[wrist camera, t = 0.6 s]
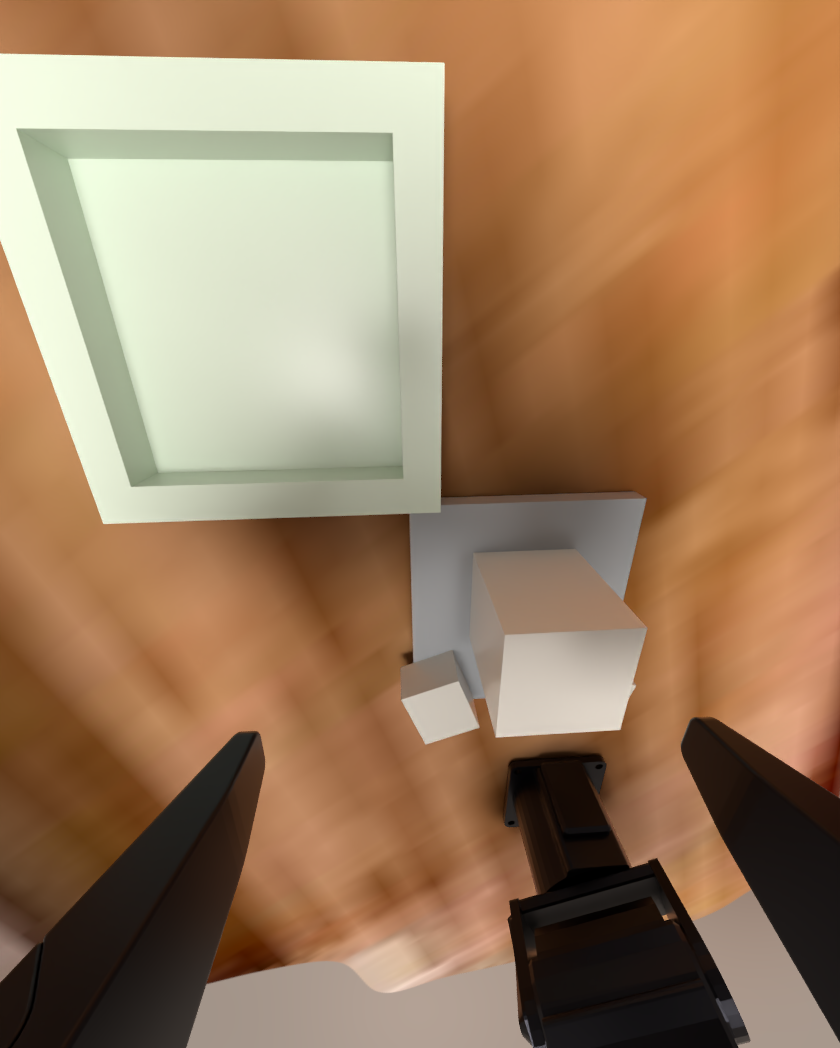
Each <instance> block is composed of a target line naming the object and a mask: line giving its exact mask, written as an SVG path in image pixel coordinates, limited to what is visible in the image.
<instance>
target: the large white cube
mask: <svg viewBox="0 0 840 1048" xmlns="http://www.w3.org/2000/svg"><path fill="white" fill-rule="evenodd" d="M646 631H647V627H646V626H645V625H644V624H643V623H642V621H641V620H640V619H639V618H638V617H637V616H636V615H635V614H634V613H633V612H632V610H631V609H630V608H629V607H628V606H627V605H626V604H625V603H624V602H623V601H622V600H621V598H620V597H619V596H618V595H617V594H616V593H615V592H614V591H613V590H612V589H611V587H610V586H609V585H608V584H607V583H606V582H605V581H604V580H603V579H602V578H601V576H600V575H599V574H598V573H597V572H596V571H595V570H594V569H593V568H592V567H591V565H590V564H589V563H588V562H587V561H586V560H585V559H584V558H583V557H582V556H581V554H580V553H579V552H578V551H577V550H576V549H559V550H533V551H507V552H482V553H473V570H472V591H471V613H470V635H469V637H470V641H471V644H472V648H473V652H474V656H475V660H476V664H477V668H478V671H479V675H480V679H481V683H482V687H483V691H484V694H485V698H486V702H487V706H488V710H489V714H490V718H491V721H492V725H493V729H494V733H495V737H512V736H528V735H544V734H561V733H577V732H593V731H610V730H620V728H621V725H622V721H623V717H624V713H625V710H626V706H627V702H628V698H629V695H630V691H631V687H632V683H633V680H634V676H635V672H636V668H637V665H638V661H639V657H640V654H641V650H642V646H643V642H644V639H645V635H646Z"/></svg>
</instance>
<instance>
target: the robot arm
mask: <svg viewBox="0 0 840 1048" xmlns="http://www.w3.org/2000/svg"><path fill="white" fill-rule="evenodd" d="M681 752H682V755H683V758H684V760H685V762H686V764H687V766H688V768H689V770H690V772H691V775H692V777H693V779H694V781H695V783H696V785H697V787H698V789H699V791H700V793H701V796H702V798H703V800H704V802H705V804H706V806H707V808H708V810H709V812H710V814H711V817H712V819H713V821H714V823H715V825H716V827H717V829H718V831H719V833H720V835H721V837H722V839H723V840H724V842H725V844H726V846H727V848H728V849H729V851H730V853H731V855H732V856H733V858H734V860H735V862H736V863H737V865H738V867H739V869H740V870H741V872H742V874H743V876H744V877H745V879H746V881H747V882H748V884H749V886H750V888H751V889H752V891H753V893H754V895H755V896H756V898H757V900H758V901H759V903H760V905H761V907H762V908H763V910H764V912H765V913H766V915H767V917H768V919H769V920H770V922H771V924H772V925H773V927H774V929H775V931H776V933H777V934H778V936H779V938H780V940H781V941H782V943H783V945H784V947H785V948H786V950H787V952H788V953H789V955H790V957H791V959H792V960H793V962H794V964H795V965H796V967H797V969H798V971H799V973H800V974H801V976H802V978H803V979H804V981H805V983H806V984H807V986H808V988H809V990H810V991H811V993H812V995H813V997H814V998H815V1000H816V1002H817V1004H818V1005H819V1007H820V1009H821V1011H822V1012H823V1014H824V1016H825V1018H826V1019H827V1021H828V1023H829V1024H830V1026H831V1028H832V1029H833V1031H834V1033H835V1035H836V1036H837V1038H838V1040H839V1042H840V798H838V797H837V796H835V795H834V794H832V793H831V792H829V791H827V790H826V789H824V788H823V787H821V786H820V785H818V784H817V783H815V782H813V781H812V780H810V779H809V778H807V777H806V776H804V775H803V774H801V773H799V772H798V771H796V770H795V769H793V768H792V767H790V766H789V765H787V764H786V763H784V762H782V761H781V760H779V759H778V758H776V757H775V756H773V755H772V754H770V753H768V752H767V751H765V750H764V749H762V748H761V747H759V746H758V745H756V744H754V743H753V742H751V741H750V740H748V739H747V738H745V737H744V736H742V735H740V734H739V733H737V732H736V731H734V730H733V729H731V728H730V727H728V726H726V725H725V724H723V723H722V722H720V721H719V720H717V719H715V718H712V717H694V718H692V719H691V720H690V722H689V724H688V726H687V729H686V732H685V734H684V737H683V739H682V742H681ZM264 770H265V756H264V751H263V746H262V741H261V736H260V734H259V732H257V731H245V732H238V733H237V734H235V735H234V736H233V737H232V738H231V739H230V740H229V741H228V742H227V743H226V745H225V746H224V747H223V748H222V749H221V750H220V751H219V752H218V753H217V754H216V755H215V756H214V757H213V758H212V759H211V760H210V761H209V763H208V764H207V765H206V766H205V767H204V768H203V769H202V770H201V771H200V772H199V773H198V774H197V775H196V776H195V777H194V778H193V779H192V781H191V782H190V783H189V784H188V785H187V786H186V787H185V788H184V789H183V790H182V791H181V792H180V793H179V794H178V795H177V796H176V798H175V799H174V800H173V801H172V802H171V803H170V804H169V805H168V806H167V807H166V808H165V809H164V810H163V811H162V812H161V813H160V814H159V816H158V817H157V818H156V819H155V820H154V821H153V822H152V823H151V824H150V825H149V826H148V827H147V828H146V829H145V830H144V831H143V832H142V834H141V835H140V836H139V837H138V838H137V839H136V840H135V841H134V842H133V843H132V844H131V845H130V846H129V847H128V848H127V849H126V851H125V852H124V853H123V854H122V855H121V856H120V857H119V858H118V859H117V860H116V861H115V862H114V863H113V864H112V865H111V866H110V867H109V869H108V870H107V871H106V872H105V873H104V874H103V875H102V876H101V877H100V878H99V879H98V880H97V881H96V882H95V883H94V884H93V885H92V887H91V888H90V889H89V890H88V891H87V892H86V893H85V894H84V895H83V896H82V897H81V898H80V899H79V900H78V901H77V902H76V903H75V905H74V906H73V907H72V908H71V909H70V910H69V911H68V912H67V913H66V914H65V915H64V916H63V917H62V918H61V919H60V920H59V922H58V923H57V924H56V925H55V926H54V927H53V928H52V929H51V930H50V931H49V932H48V933H47V934H46V935H45V937H44V940H43V942H39V943H38V944H37V945H36V946H35V947H34V948H33V949H32V950H31V951H30V952H29V953H28V954H27V955H26V956H25V957H24V958H23V959H22V960H21V961H20V963H19V964H18V965H17V966H16V967H15V968H14V969H13V970H12V971H11V972H10V973H9V974H8V975H7V976H6V977H5V978H4V979H3V980H2V981H1V982H0V1048H186V1046H187V1043H188V1040H189V1037H190V1034H191V1030H192V1027H193V1024H194V1021H195V1018H196V1015H197V1012H198V1008H199V1005H200V1002H201V999H202V996H203V992H204V989H205V986H206V983H207V980H208V977H209V974H210V970H211V967H212V964H213V961H214V958H215V954H216V951H217V948H218V945H219V942H220V939H221V935H222V932H223V929H224V926H225V923H226V920H227V916H228V913H229V910H230V907H231V904H232V901H233V897H234V894H235V891H236V888H237V885H238V882H239V878H240V875H241V872H242V868H243V865H244V861H245V857H246V853H247V848H248V844H249V839H250V835H251V830H252V826H253V821H254V816H255V812H256V807H257V803H258V798H259V793H260V789H261V784H262V780H263V775H264ZM605 770H606V763H605V761H604V759H603V757H601V756H590V757H574V758H559V759H543V760H528V761H515V762H513V763H511V764H510V765H509V771H508V779H507V788H506V797H505V806H504V814H503V819H504V823H505V826H507V827H520V831H521V835H522V839H523V843H524V847H525V850H526V854H527V858H528V862H529V866H530V869H531V873H532V877H533V881H534V885H535V889H536V892H537V895H535V896H532V897H528V898H525V899H521V900H519V898H517V899H514V900H510V901H509V903H510V910H511V916H510V917H509V918H508V923H509V928H510V933H511V938H512V944H513V949H514V956H515V964H516V980H517V998H518V999H517V1000H518V1018H519V1025H520V1029H521V1033H522V1035H523V1037H524V1038H525V1039H526V1040H527V1041H528V1042H529V1043H530V1044H531V1045H532V1046H533V1048H738V1046H737V1045H739V1044H743V1043H748V1042H750V1038H749V1035H748V1032H747V1030H746V1027H745V1025H744V1022H743V1020H742V1018H741V1016H740V1013H739V1011H738V1009H737V1007H736V1005H735V1002H734V1000H733V998H732V996H731V994H730V992H729V990H728V988H727V986H726V984H725V982H724V980H723V978H722V976H721V974H720V972H719V970H718V968H717V966H716V964H715V962H714V960H713V958H712V956H711V954H710V952H709V951H708V949H707V947H706V945H705V943H704V941H703V940H702V938H701V936H700V934H699V933H698V931H697V929H696V927H695V925H694V924H693V922H692V920H691V918H690V916H689V915H688V913H687V911H686V909H685V907H684V906H683V904H682V902H681V900H680V898H679V897H678V895H677V893H676V891H675V890H674V888H673V886H672V884H671V882H670V881H669V879H668V877H667V875H666V873H665V872H664V870H663V868H662V866H661V864H660V863H659V861H658V859H657V858H655V859H652V860H649V861H648V863H646V864H643V865H639V866H636V867H632V866H631V864H630V862H629V860H628V858H627V856H626V853H625V851H624V849H623V847H622V845H621V842H620V840H619V838H618V836H617V834H616V832H615V829H614V827H613V825H612V823H611V821H610V818H609V816H608V814H607V812H606V810H605V808H604V805H603V803H602V801H601V799H600V797H599V793H600V789H601V785H602V781H603V777H604V773H605ZM666 914H667V917H668V919H669V920H666V921H664V919H663V917H662V915H666Z"/></svg>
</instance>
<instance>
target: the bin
mask: <svg viewBox="0 0 840 1048" xmlns="http://www.w3.org/2000/svg"><path fill="white" fill-rule="evenodd" d="M443 176H444V63H433V62H384V61H334V60H285V59H235V58H186V57H137V56H87V55H38V54H0V241H1V243H2V246H3V249H4V252H5V254H6V257H7V260H8V263H9V265H10V268H11V271H12V274H13V276H14V279H15V282H16V285H17V287H18V290H19V293H20V296H21V298H22V301H23V304H24V307H25V309H26V312H27V315H28V318H29V320H30V323H31V326H32V329H33V331H34V334H35V337H36V340H37V342H38V345H39V348H40V351H41V353H42V356H43V359H44V362H45V364H46V367H47V370H48V373H49V375H50V378H51V381H52V384H53V386H54V389H55V392H56V395H57V397H58V400H59V403H60V406H61V408H62V411H63V414H64V417H65V419H66V422H67V425H68V428H69V430H70V433H71V436H72V439H73V441H74V444H75V447H76V450H77V452H78V455H79V458H80V461H81V463H82V466H83V469H84V472H85V474H86V477H87V480H88V483H89V485H90V488H91V491H92V494H93V496H94V499H95V502H96V505H97V507H98V510H99V513H100V516H101V518H102V521H103V524H116V523H146V522H175V521H205V520H235V519H264V518H294V517H323V516H353V515H383V514H412V513H441V413H442V295H443Z"/></svg>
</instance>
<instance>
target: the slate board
mask: <svg viewBox="0 0 840 1048" xmlns="http://www.w3.org/2000/svg"><path fill="white" fill-rule="evenodd" d="M646 499H647V498H645V497H643V496H642V495H640V494H638V493H637V492H635V491H631V492H600V493H568V494H537V495H506V496H475V497H443V498H441V513H412V514H409V526H410V565H411V603H412V642H413V663H412V664H409V665H406V666H403V667H401V701H402V702H403V704H404V706H405V708H406V710H407V711H408V713H409V715H410V717H411V719H412V720H413V722H414V724H415V726H416V728H417V729H418V731H419V733H420V735H421V737H422V739H423V740H424V742H425V744H429V743H432V742H435V741H439V740H442V739H445V738H448V737H451V736H454V735H458V734H461V733H464V732H467V731H470V730H473V729H477V728H480V727H479V723H478V718H477V714H476V709H475V705H474V700H473V699H479V698H485V694H484V691H483V687H482V683H481V679H480V675H479V671H478V668H477V664H476V660H475V656H474V652H473V648H472V644H471V641H470V637H469V635H470V613H471V591H472V570H473V553H482V552H507V551H533V550H559V549H576V550H577V551H578V552H579V553H580V554H581V556H582V557H583V558H584V559H585V560H586V561H587V562H588V563H589V564H590V565H591V567H592V568H593V569H594V570H595V571H596V572H597V573H598V574H599V575H600V576H601V578H602V579H603V580H604V581H605V582H606V583H607V584H608V585H609V586H610V587H611V589H612V590H613V591H614V592H615V593H616V594H617V595H618V596H619V597H620V598H621V600H622V601H623V599H624V595H625V590H626V586H627V582H628V577H629V573H630V569H631V564H632V560H633V555H634V551H635V547H636V542H637V538H638V534H639V529H640V525H641V521H642V516H643V512H644V508H645V503H646ZM635 687H636V684H635V683H634V682H633V683H632V687H631V691H630V695H631V693H632V692H633V690H634V689H635ZM630 695H629V697H630Z"/></svg>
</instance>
